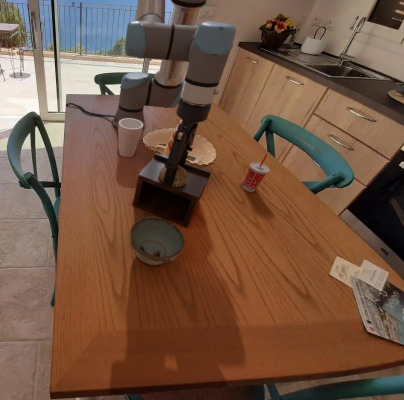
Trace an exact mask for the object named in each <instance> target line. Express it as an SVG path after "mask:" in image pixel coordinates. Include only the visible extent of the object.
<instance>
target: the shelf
mask: <svg viewBox="0 0 404 400" xmlns="http://www.w3.org/2000/svg"><path fill="white" fill-rule="evenodd" d="M168 157H169V155H164V154H163V153H159V152H155V153H154V154H153V157H152V158H151V160H150V161H149V162H148V163H147V164H146V166H144V168H143V169H142V170H141V171H140V172H139V173H138V176H137V182H136V186H135V191H134V197H133V200H132V201H133V202H132V205H133V206H135V207H137V208H139V209H142V210H144V211H146V212H149V213H151V214H154V215H155V216H157V217H160V218H163V219H165V220H168V221H170V222H171V223H175V224H176V225H177V224H178V225H180V226H181V227H184V228H188V226H189V224H190V223H191V221H192V219H193V216H194V214H195V211H196V210H197V208H198V205H199V203H200V201H201V199H202V196H203V194H204V192H205V189H206V187H207V184H208V182H209V180H210V177H211V175H212V170H209V169H206V168H203V167H200V166H198V165H194V164H191V163H188V162H187V161H186V162H185V165H184V169H185V170H186V171H187V172H188V180H187V182H186V184H184V185H182V186H179V187H172V188H170V187H168V186H165V185H163V182H162V181H161V179H160V177H159V172H160V170H161V169H162V168H163V167H165V165H164V164H165V163H167V160H168Z"/></svg>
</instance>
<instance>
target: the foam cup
mask: <svg viewBox="0 0 404 400" xmlns="http://www.w3.org/2000/svg"><path fill="white" fill-rule="evenodd" d="M143 129H144V128H143V123H142V122H141V121H139V120H137V119H132V118H125V119H121V120H120V121H119V125H118V129H117V130H118V154H119V155H120V156H121V157H124V158H132V157H133V156H135V154H136V150H137V146H138V144H139V141H140V137H141V135H142V133H143Z"/></svg>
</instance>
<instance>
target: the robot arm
mask: <svg viewBox="0 0 404 400" xmlns="http://www.w3.org/2000/svg"><path fill="white" fill-rule="evenodd" d="M170 3H171V4H172V6H173V9H172V13H171V17H170V22H169V23H166V0H137V3H136V4H137V6H136V13H135V20H133V21H132V20H131V21H129V22H128V23H127V26H126V34H125V42H124V54H125V55H126V56H127V57H133V58H137V59H150V60H161V62H160V66H159V70H158V71H157V72H155V74H154V76H153V77H150V74H149V73H147V72H142V71H134V72H128V73H126V74H124V75H123V76H122V78H121V82H120V86H119V88H120V91H119V97H118V108H117V110H116V112H115V115H111V114H101V113H94V112H90V111H88V110H86V109H85V108H84V107H82V106H81V105H78V104H76V103H74V102H68V103H66V104H65V106H67V107H68V106H70V105H72V106H73V107H74V106H75V107H77V108H79V109H81V110H82V111H83V112H84V113H86V114H87V115H88V114H89V115H92V116H98V117H106V118H113V119H112V120H113V121H112V125H113V127H114V128H115V129H117V130H118V125H119V121H120V120H121V119H125V118H132V119H137V120H139V121H141V122H142V123H143V129H144V128H145V125H146V121H145V113H144V107H156V108H164V109H174V108H176V112H175V113H176V116H177V117H178V118H180V119H181V120H182V121H181V122H180V123H179V124H178V127H177V130H176V131H175V132H174V137H173V142H172V144H171V147H170V151H169V153H168V160H167V163H165V164H164V165H165V168H167V169H166V173H165V176H164V180H163V185H165V186H168V187H170V188H172V186H173V183H174V179H175V176H176V173H177V170H178V165H179V166H181V167H183V168H184V165H185V162H186V163H187V159H188V155H189V152H192V151H193V149H194V148H193V147H192V146H193V145H194V144H193V143H194V140H195V136H196V133H197V130H198V127H199V123H202V122H204V121H206V120H207V119H208V118H209V115H210V112H211V109H212V103H213V101H214V99H215V96H216V95H219V93H220V90H219V89H218V87H219V85H220V82H221V79H222V76H223V74H224V71H225V69H226V65H227V62H228V60H229V57H230V54H231V51H232V49H233V47H234V42H235V38H236V34H237V28H236V26H235V25H234V24H229V23H228V22H227V23H226V22H220V21H204V22H201V23H200V24H196V22H197V17H198V14H199V12H200V10H201V9H203V7H205V6H206V4H207V0H170ZM184 62H185V63H188V65H187V69H186V75H185V78H184V80H183V77H182V75H181V72H182V68H183V66H184Z"/></svg>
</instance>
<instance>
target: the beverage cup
mask: <svg viewBox="0 0 404 400" xmlns="http://www.w3.org/2000/svg"><path fill="white" fill-rule="evenodd" d="M267 156H268V153H266V154H265V155H264V157H263V158H262V161H261V162H256V161H255V162H251V163H250V164H249V168H248V170H247V173H246V175H245V177H244V179H243V182H242V185H241V188H242V189H243V190H244V191H246V192H248V193H249V192H250V193H254V192H255V191H256V190H257V189H258V187H259V186H260V184H261V183H262V181H263V180H264V178H265V177H266V175H267V174H269V172H270V168H269V167H268V166H267V165H266V164H264V162H265V161H266V158H267Z"/></svg>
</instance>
